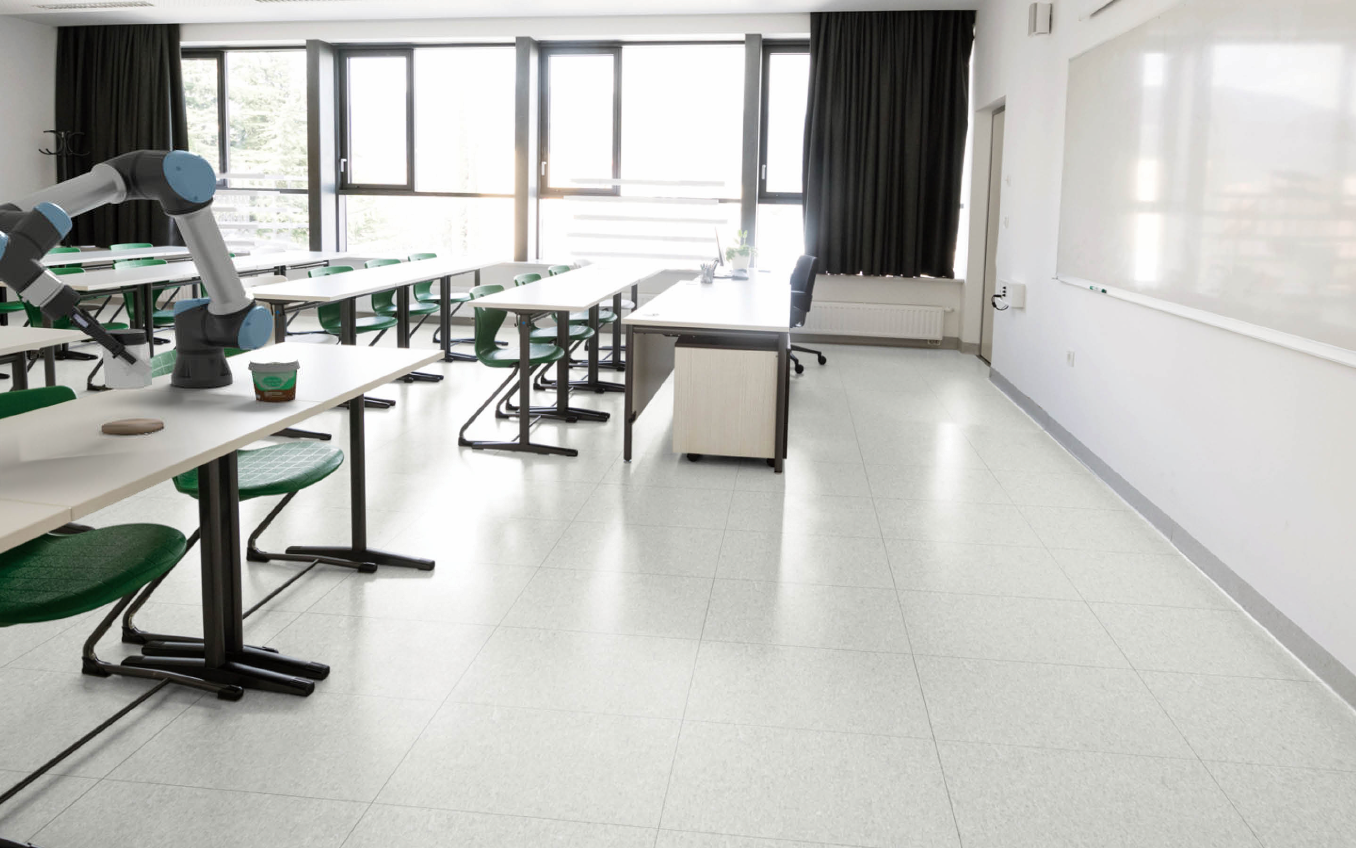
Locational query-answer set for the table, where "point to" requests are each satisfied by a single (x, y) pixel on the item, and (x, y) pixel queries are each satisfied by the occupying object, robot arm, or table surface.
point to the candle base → (132, 426)
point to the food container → (274, 381)
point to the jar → (121, 373)
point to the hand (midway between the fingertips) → (145, 369)
